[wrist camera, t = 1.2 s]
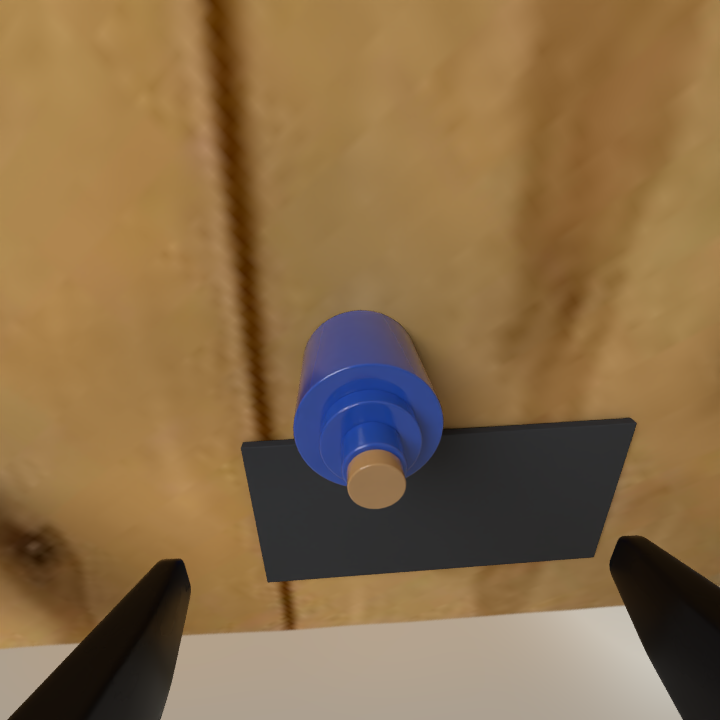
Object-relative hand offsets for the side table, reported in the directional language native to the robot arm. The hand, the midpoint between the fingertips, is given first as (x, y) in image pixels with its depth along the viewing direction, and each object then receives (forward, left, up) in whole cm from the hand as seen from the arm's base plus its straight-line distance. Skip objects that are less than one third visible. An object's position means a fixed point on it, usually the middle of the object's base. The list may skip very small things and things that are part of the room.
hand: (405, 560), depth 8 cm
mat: (+4, -10, -11) cm, 15 cm away
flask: (0, -1, -11) cm, 11 cm away
